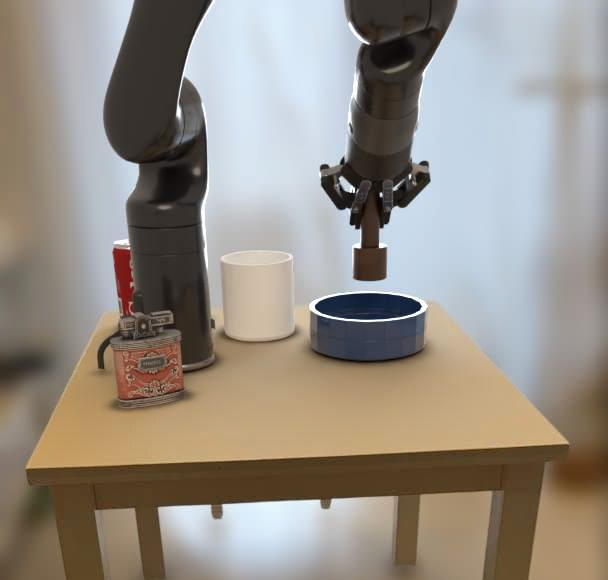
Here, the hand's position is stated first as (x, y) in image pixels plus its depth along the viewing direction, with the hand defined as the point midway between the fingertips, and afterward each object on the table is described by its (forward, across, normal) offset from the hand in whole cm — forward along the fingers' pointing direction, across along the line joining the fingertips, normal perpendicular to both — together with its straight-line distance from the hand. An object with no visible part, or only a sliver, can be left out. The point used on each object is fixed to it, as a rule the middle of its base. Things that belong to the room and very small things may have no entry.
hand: (367, 222), depth 114 cm
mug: (+17, +15, +5) cm, 23 cm away
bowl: (+10, 0, +12) cm, 16 cm away
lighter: (-3, +27, +25) cm, 37 cm away
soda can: (+19, +32, +2) cm, 38 cm away
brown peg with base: (+3, 0, +6) cm, 7 cm away
